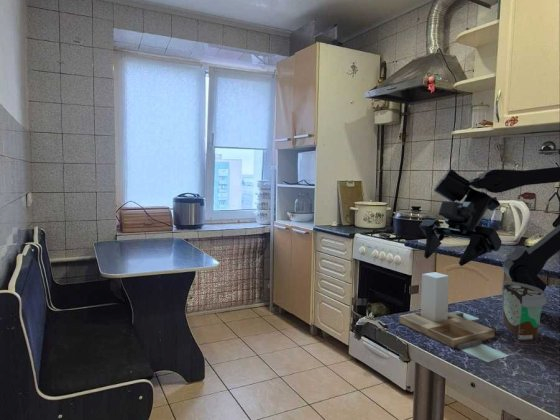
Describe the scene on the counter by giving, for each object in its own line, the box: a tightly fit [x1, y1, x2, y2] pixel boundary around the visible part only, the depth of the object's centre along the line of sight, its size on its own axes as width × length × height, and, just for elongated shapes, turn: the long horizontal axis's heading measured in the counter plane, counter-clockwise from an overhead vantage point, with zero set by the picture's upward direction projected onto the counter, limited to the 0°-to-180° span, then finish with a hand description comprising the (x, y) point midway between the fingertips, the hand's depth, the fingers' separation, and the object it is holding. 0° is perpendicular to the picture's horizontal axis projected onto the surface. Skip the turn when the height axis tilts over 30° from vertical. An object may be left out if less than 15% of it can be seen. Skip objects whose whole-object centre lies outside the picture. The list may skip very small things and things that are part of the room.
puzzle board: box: [398, 310, 510, 363], centre depth 86 cm, size 18×22×2 cm
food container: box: [501, 280, 547, 342], centre depth 85 cm, size 12×6×10 cm, turn 168°
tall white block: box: [420, 271, 450, 322], centre depth 91 cm, size 4×4×11 cm
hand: (442, 261), depth 95 cm, fingers open, 9 cm apart
